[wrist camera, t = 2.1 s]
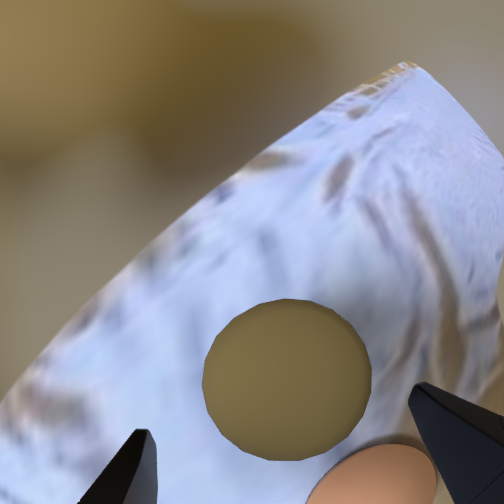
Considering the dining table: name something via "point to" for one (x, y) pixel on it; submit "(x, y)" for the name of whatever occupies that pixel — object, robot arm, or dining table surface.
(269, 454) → the cork
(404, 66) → the dining table surface
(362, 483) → the peach round disc
